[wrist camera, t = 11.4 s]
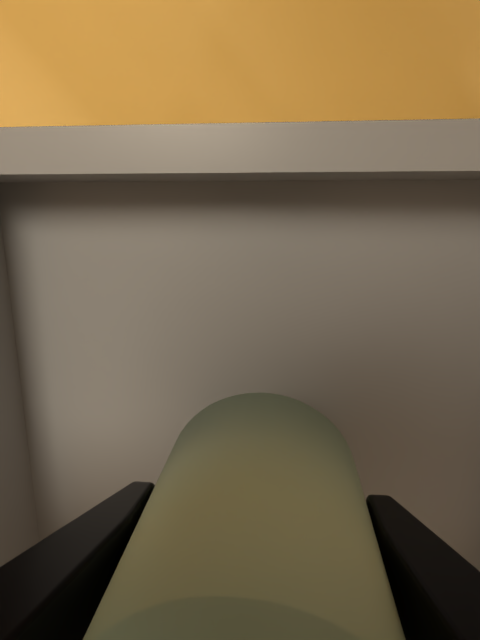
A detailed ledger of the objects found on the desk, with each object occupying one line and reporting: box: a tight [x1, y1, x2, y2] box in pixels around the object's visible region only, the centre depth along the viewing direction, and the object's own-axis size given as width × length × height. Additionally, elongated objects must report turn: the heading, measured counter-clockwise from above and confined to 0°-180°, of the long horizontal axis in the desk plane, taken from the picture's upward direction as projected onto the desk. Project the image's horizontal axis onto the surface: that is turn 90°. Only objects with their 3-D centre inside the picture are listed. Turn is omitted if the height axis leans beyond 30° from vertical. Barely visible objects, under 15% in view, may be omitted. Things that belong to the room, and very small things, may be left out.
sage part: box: [83, 393, 406, 640], centre depth 7 cm, size 4×4×5 cm
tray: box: [0, 119, 480, 571], centre depth 10 cm, size 14×14×3 cm
